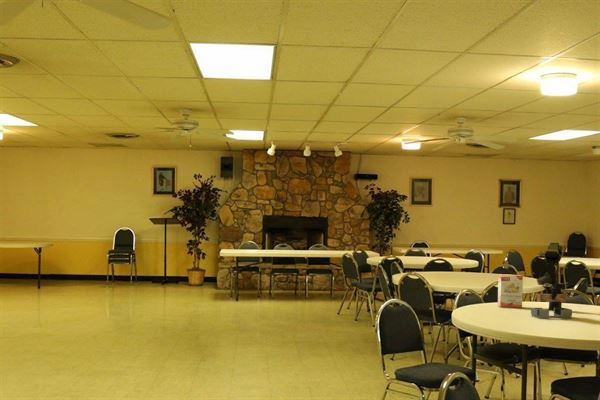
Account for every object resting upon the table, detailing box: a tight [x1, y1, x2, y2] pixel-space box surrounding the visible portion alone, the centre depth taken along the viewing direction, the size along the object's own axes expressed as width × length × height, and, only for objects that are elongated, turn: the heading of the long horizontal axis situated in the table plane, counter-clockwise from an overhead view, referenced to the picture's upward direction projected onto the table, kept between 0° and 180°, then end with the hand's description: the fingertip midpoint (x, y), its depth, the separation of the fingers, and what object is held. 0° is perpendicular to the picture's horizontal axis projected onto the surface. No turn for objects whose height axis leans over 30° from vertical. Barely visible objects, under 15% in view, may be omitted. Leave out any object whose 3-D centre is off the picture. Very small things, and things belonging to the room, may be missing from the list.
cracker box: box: [497, 273, 524, 309], centre depth 359 cm, size 14×6×21 cm, turn 88°
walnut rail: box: [536, 293, 567, 303], centre depth 324 cm, size 16×4×4 cm, turn 98°
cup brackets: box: [530, 307, 573, 320], centre depth 324 cm, size 22×8×5 cm, turn 98°
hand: (551, 299), depth 324 cm, fingers closed on walnut rail, 3 cm apart
